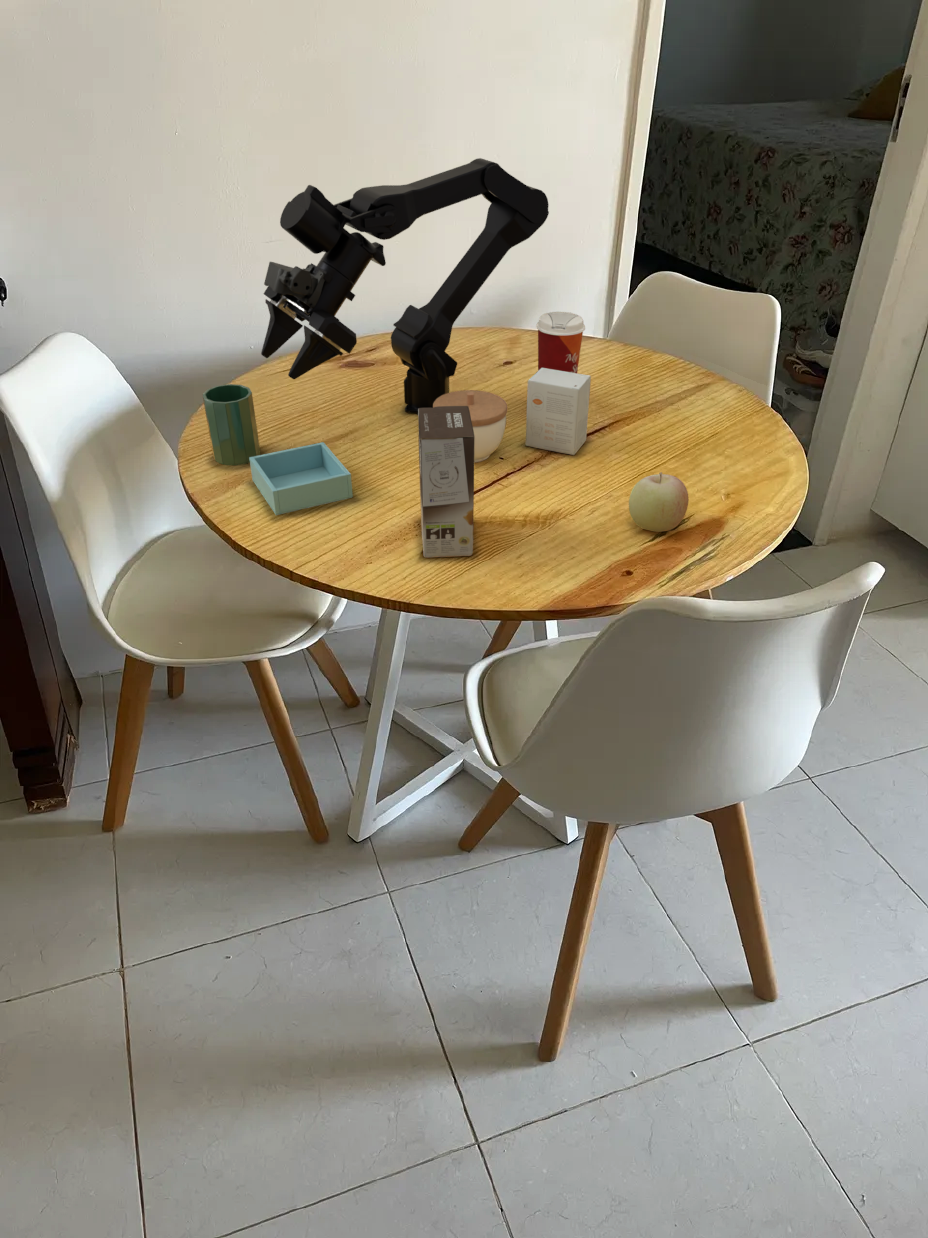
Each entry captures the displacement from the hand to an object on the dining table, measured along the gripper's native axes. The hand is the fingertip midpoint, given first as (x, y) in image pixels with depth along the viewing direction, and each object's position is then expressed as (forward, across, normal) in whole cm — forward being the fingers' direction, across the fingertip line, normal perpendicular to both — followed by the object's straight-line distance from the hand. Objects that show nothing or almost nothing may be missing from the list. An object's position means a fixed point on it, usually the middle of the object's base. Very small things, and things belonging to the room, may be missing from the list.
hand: (277, 366), depth 132 cm
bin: (+12, +15, +5) cm, 20 cm away
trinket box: (-6, +18, +24) cm, 30 cm away
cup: (+14, +1, +2) cm, 14 cm away
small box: (-14, +23, +33) cm, 42 cm away
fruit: (-12, +49, +30) cm, 58 cm away
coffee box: (+5, +36, +12) cm, 39 cm away
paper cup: (-21, +11, +40) cm, 46 cm away
